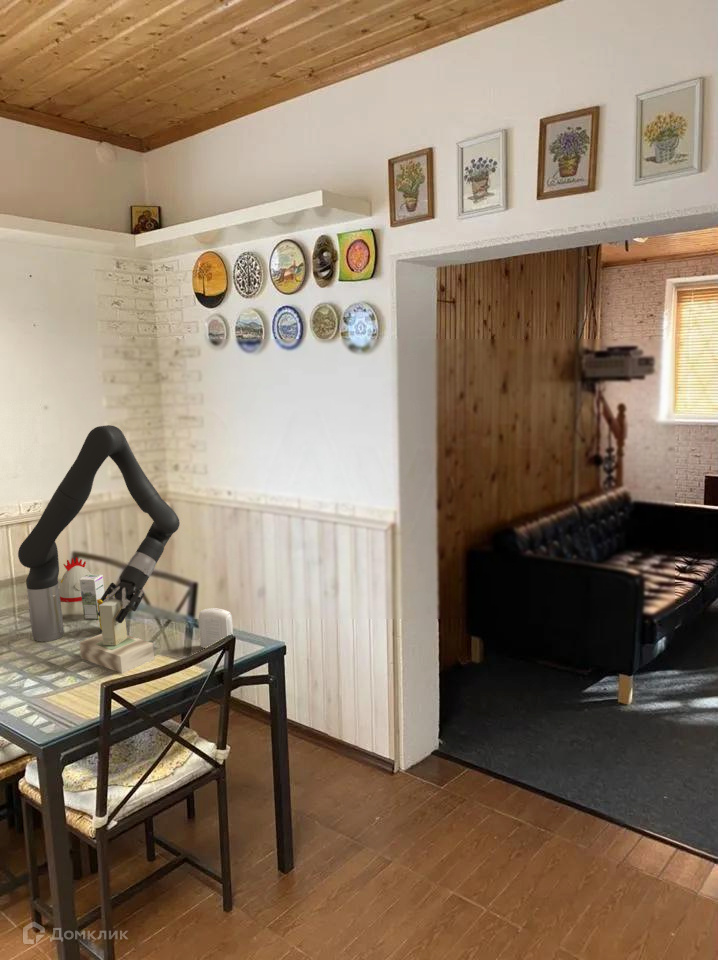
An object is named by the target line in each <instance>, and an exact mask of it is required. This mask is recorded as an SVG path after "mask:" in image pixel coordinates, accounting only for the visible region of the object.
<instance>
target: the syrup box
mask: <svg viewBox="0 0 718 960" xmlns="http://www.w3.org/2000/svg"><path fill="white" fill-rule="evenodd" d="M104 586H105V585H104V575H103V574H91V575H85V576H84V577H82V578H81V579H80V588H81V596H82V601H81V603H82V612H83V619H84V620H99V616H98V605H97V599H101V597H102V596H103V594H104V593H105V587H104Z"/></svg>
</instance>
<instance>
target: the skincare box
mask: <svg viewBox="0 0 718 960" xmlns="http://www.w3.org/2000/svg"><path fill="white" fill-rule="evenodd" d="M121 608H122V609H123V602H122V601H121V600H118V599H110V600H108V601H106V602H104V603H102V604H101V605H99V610H100V618H101V628H102V632H101V634H102V636H103V645H112V646H116V645H118V644H119V643H121V642H122V641H124V640H125V639H127V635H128V632H127V623H126V618H125V619H124V621H123V622H122V623H118V622H117V621H115V618H116V617H117V615H118V613H119V612H120V610H121Z"/></svg>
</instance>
